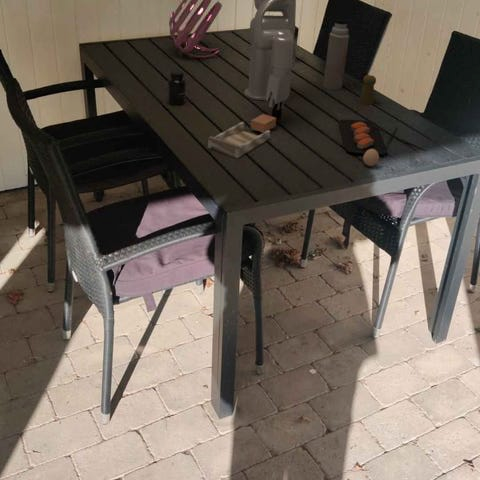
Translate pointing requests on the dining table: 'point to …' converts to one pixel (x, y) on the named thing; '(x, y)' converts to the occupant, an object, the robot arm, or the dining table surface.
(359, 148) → the sushi plate
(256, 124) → the brown rectangular block
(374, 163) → the egg
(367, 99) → the pepper mill
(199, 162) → the dining table surface
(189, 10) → the spiral basket
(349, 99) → the dining table surface
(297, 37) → the coffee box
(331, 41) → the thermos bottle
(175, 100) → the supplement bottle
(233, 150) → the dock
